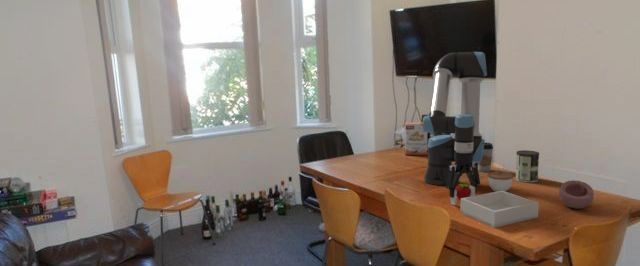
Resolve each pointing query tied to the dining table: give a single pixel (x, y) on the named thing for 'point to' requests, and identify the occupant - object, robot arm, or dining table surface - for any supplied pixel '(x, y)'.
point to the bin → (499, 208)
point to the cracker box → (415, 139)
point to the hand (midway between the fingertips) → (462, 202)
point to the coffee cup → (486, 158)
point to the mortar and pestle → (576, 194)
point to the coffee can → (527, 166)
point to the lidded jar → (500, 181)
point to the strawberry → (463, 191)
